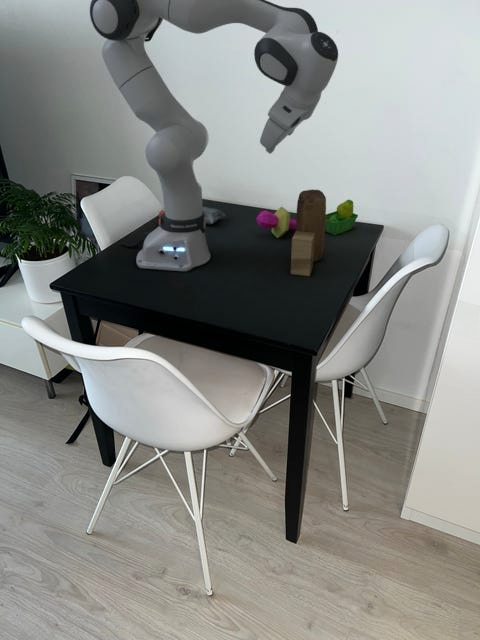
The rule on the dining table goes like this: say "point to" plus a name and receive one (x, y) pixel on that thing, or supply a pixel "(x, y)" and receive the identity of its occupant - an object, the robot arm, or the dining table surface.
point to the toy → (276, 221)
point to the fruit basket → (341, 218)
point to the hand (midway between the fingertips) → (279, 141)
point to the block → (312, 218)
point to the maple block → (302, 253)
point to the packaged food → (212, 215)
